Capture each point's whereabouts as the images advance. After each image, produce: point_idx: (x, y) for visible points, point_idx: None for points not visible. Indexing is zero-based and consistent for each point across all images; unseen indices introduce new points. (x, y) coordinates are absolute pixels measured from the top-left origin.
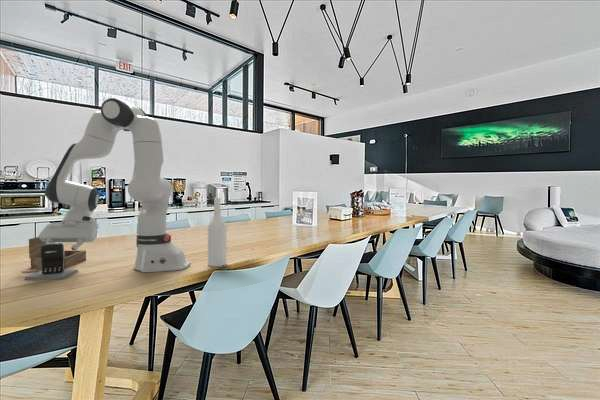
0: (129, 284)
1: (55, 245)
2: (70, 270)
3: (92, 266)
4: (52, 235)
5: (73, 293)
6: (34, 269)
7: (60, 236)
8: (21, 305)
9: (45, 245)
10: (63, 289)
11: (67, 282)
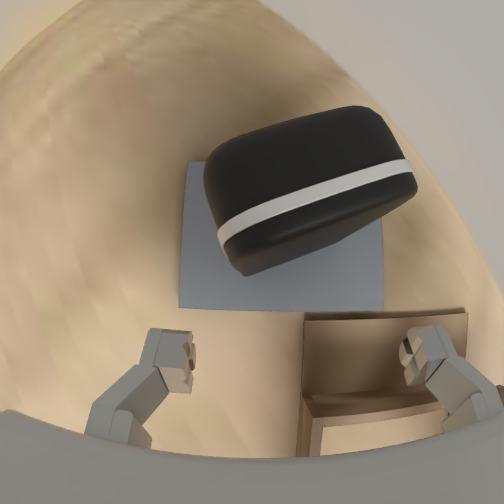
0: None
1: (258, 131)
2: (209, 285)
3: (167, 424)
4: (492, 448)
5: (92, 37)
6: None
7: (395, 463)
8: None
9: (351, 108)
10: (129, 55)
11: (145, 119)
